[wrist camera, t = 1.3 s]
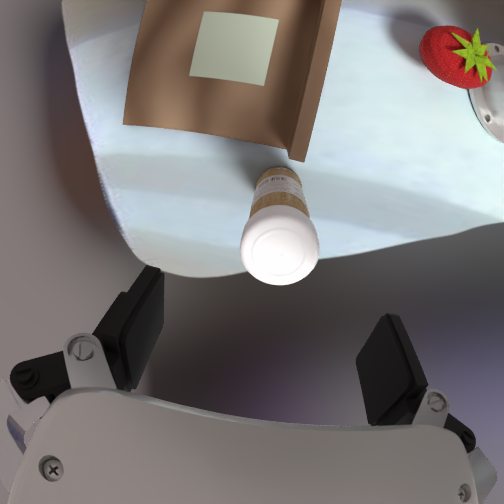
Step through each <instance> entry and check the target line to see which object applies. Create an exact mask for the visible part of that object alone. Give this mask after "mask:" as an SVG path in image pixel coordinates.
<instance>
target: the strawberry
mask: <svg viewBox="0 0 504 504" xmlns="http://www.w3.org/2000/svg"><path fill="white" fill-rule="evenodd" d="M487 47H488V44H481V43H480V37H479V31H478V28H476V30H475V32H474V35H472V34H470V33H469V32H467V31H465V30H463V29H461V28H459V27H455V26H436V27H433V28H431V29H430V30H428V31H427V32H426V34H425V35H424V37H423V39H422V40H421V43H420V49H419V51H420V55H421V58H422V60H423V62H424V64H425V66H426V67H427V68H428V69H429V71H430V72H431V73H433V74H434V75H435V76H436V77H437V78H439V79H440V80H442V81H444V82H446V83H449V84H451V85H454V86H457V87H459V88H463V89H474V88H478V87H481V86H483V85H485V84H486V83H487V82H488V81H489V80H490V78H491V75H492V69H495V70H497V69H496V68H495V66H494V65H493V64H492V63H491V59H490V57H489V51H490V47H491V45H490V46H489V50H488V52H487V50H486V49H487Z"/></svg>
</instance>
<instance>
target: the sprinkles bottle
mask: <svg viewBox="0 0 504 504" xmlns="http://www.w3.org/2000/svg"><path fill="white" fill-rule="evenodd" d="M240 254H241V259H242V262H243V264H244V266H245V267H246V269H247V270H248V271H249V272H250V273H251V274H252V275H253V276H254V277H255V278H257V279H258V280H261V281H262V282H265V283H268V284H273V285H287V284H291V283H294V282H297V281H299V280H301V279H303V278H304V277H305V276H307V275H308V274H309V273H310V272H311V271H312V269H313V268H314V266H315V265H316V263H317V260H318V257H319V241H318V237H317V233H316V229H315V227H314V225H313V223H312V221H311V220H310V216H309V211H308V208H307V204H306V201H305V197H304V193H303V190H302V184H301V181H300V179H299V177H298V176H297V175H296V174H295V173H294V172H293V171H291V170H290V169H287V168H284V167H275V168H270V169H268V170H267V171H265V172H264V173H263V174H262V175H261V176H260V177H259V179H258V181H257V184H256V191H255V195H254V198H253V202H252V206H251V212H250V217H249V220H248V222H247V223H246V225H245V227H244V230H243V234H242V238H241V244H240Z"/></svg>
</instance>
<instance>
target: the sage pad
mask: <svg viewBox="0 0 504 504" xmlns="http://www.w3.org/2000/svg"><path fill="white" fill-rule="evenodd" d="M278 23H279V20H278V19H272V18H266V17H259V16H252V15H244V14H235V13H223V12H207V11H204V13H203V17H202V21H201V25H200V29H199V33H198V37H197V41H196V46H195V50H194V55H193V59H192V64H191V69H190V74H189V76H196V77H207V78H215V79H223V80H231V81H237V82H244V83H250V84H255V85H261V86H264V84H265V79H266V75H267V70H268V66H269V62H270V57H271V53H272V48H273V44H274V40H275V36H276V31H277V27H278Z"/></svg>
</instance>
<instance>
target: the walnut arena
mask: <svg viewBox="0 0 504 504" xmlns="http://www.w3.org/2000/svg"><path fill="white" fill-rule="evenodd" d="M341 1H342V0H147V2H146V6H145V9H144V13H143V16H142V20H141V24H140V28H139V32H138V36H137V41H136V45H135V50H134V54H133V59H132V65H131V70H130V76H129V82H128V88H127V95H126V102H125V109H124V118H123V125H135V126H147V127H157V128H166V129H175V130H183V131H190V132H197V133H204V134H210V135H216V136H222V137H228V138H234V139H239V140H244V141H249V142H254V143H259V144H264V145H269V146H273V147H278V148H282V149H286V150H287V152H288V157H289V159H292V160H296V161H300V162H304V161H305V158H306V154H307V150H308V146H309V142H310V138H311V134H312V130H313V126H314V122H315V118H316V113H317V109H318V105H319V101H320V97H321V93H322V88H323V84H324V80H325V75H326V71H327V67H328V62H329V58H330V53H331V49H332V44H333V39H334V35H335V30H336V25H337V21H338V16H339V11H340V6H341ZM204 11H207V12H223V13H235V14H244V15H252V16H259V17H266V18H272V19H278V20H279V23H278V27H277V31H276V36H275V40H274V44H273V48H272V53H271V57H270V62H269V66H268V70H267V75H266V79H265V84H264V86H261V85H255V84H250V83H244V82H237V81H231V80H223V79H215V78H207V77H196V76H189V74H190V69H191V64H192V59H193V55H194V50H195V46H196V41H197V37H198V33H199V29H200V25H201V21H202V17H203V13H204Z"/></svg>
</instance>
